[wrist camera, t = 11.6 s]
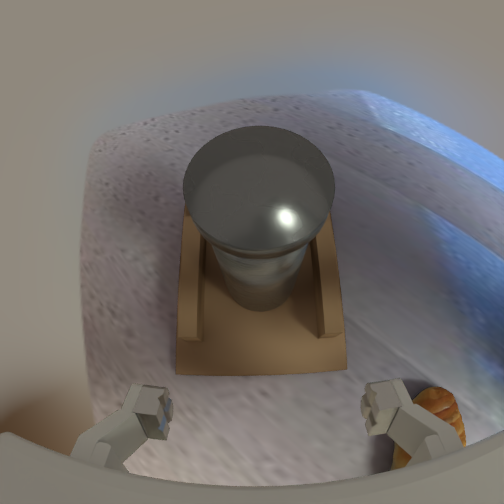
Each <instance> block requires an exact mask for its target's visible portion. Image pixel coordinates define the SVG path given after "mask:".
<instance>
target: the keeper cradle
mask: <svg viewBox="0 0 504 504" xmlns="http://www.w3.org/2000/svg"><path fill="white" fill-rule="evenodd" d="M346 369H347V356H346V342H345V329H344V318H343V307H342V297H341V288H340V279H339V271H338V263H337V255H336V247H335V240H334V233H333V227H332V220H331V214H330V211H329V214H328V217H327V219H326V221H325V223H324V225H323V227H322V228H321V230H320V232H319V233H318V234H317V235H316V236H315V237H314V238H313V239H312V240H311V241H310V242H309V243H308V246H307V249H306V252H305V255H304V258H303V261H302V264H301V267H300V270H299V273H298V276H297V279H296V282H295V285H294V288H293V291H292V293H291V295H290V296H289V298H288V299H287V300H286V301H285V302H284V303H283V304H282V305H281V306H279V307H277V308H275V309H273V310H270V311H265V312H257V311H251V310H248V309H246V308H244V307H242V306H240V305H239V304H238V303H237V302H236V301H235V300H234V299H233V298H232V296H231V295H230V293H229V290H228V288H227V285H226V282H225V280H224V277H223V274H222V272H221V269H220V266H219V264H218V261H217V258H216V255H215V253H214V250H213V247H212V244H211V243H209V242H208V241H207V240H206V239H205V238H204V237H203V236H202V235H201V234H200V232H199V231H198V230H197V228H196V226H195V225H194V223H193V220H192V218H191V216H190V213H189V211H188V208H187V206H186V203H185V210H184V220H183V231H182V243H181V256H180V270H179V286H178V306H177V332H176V374H180V375H208V376H256V375H284V374H301V373H315V372H326V371H337V370H346Z"/></svg>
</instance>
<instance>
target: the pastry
mask: <svg viewBox="0 0 504 504" xmlns="http://www.w3.org/2000/svg"><path fill="white" fill-rule="evenodd" d="M412 402H413V404H418V405H419V406H421V407H422V408H424V409H426V410H427V411H429V412H430V413H432V414H433V415H435V416H437V417H438V418H440V419H441V420H443V421H445V422H446V423H448V424H450V425H451V426H453V427H454V428H455V430H456V432H457V434H458V436H459V438H460V440H461V442H462V444H463V446H464V447H466V435H465V430H464V424H463V422H462V417H461V414H460V412H459V410H458V405H457V403H456V401H455V398H454V396H453V394H452V393H450V392H449V391H447V390H446V389H443V388H441V387H429V388H426V389H425V390H423V391H422V392H421V393H420V394H418V395H417V396H416V397H415V398H414V399H413V400H412ZM394 446H395V448H394V454H393V462H392V466H391V470H395V469H399V468H403V467H405V466H406V465H407V464H408V462H409V461H410V459H411V458H412V457H411V456H410V455H409V454H408V453H407V452H406V451H405V450H404V449H403V448H401V447H400V446H399V445H398V444H397V443H396V442H394Z"/></svg>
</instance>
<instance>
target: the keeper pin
mask: <svg viewBox="0 0 504 504" xmlns="http://www.w3.org/2000/svg"><path fill="white" fill-rule="evenodd" d="M334 193H335V181H334V176H333V172H332V169H331V167H330V164H329V163H328V161H327V159H326V158H325V156H324V155H323V154H322V153H321V151H320V150H319V149H318V148H317V147H316V146H315V145H313V144H312V143H311V142H309V141H308V140H307V139H305V138H303V137H302V136H300V135H298V134H295V133H293V132H291V131H288V130H285V129H281V128H276V127H269V126H250V127H243V128H238V129H234V130H231V131H228V132H225V133H223V134H221V135H219V136H217V137H215V138H214V139H212V140H210V141H209V142H208V143H207V144H205V145H204V146H203V147H202V148H201V149H200V150H199V151H198V152H197V153H196V154H195V156H194V157H193V158H192V160H191V162H190V163H189V165H188V168H187V170H186V173H185V177H184V183H183V194H184V199H185V203H186V206H187V208H188V211H189V213H190V216H191V218H192V220H193V223H194V225H195V226H196V228H197V230H198V231H199V232H200V234H201V235H202V236H203V237H204V238H205V239H206V240H207V241H208V242H209V243H211V244H212V247H213V250H214V253H215V255H216V258H217V261H218V264H219V266H220V269H221V272H222V274H223V277H224V280H225V282H226V285H227V288H228V290H229V293H230V295H231V296H232V298H233V299H234V300H235V301H236V302H237V303H238V304H239V305H240V306H242V307H244V308H246V309H248V310H251V311H257V312H265V311H270V310H273V309H275V308H277V307H279V306H281V305H282V304H283V303H284V302H285V301H286V300H287V299H288V298H289V296H290V295H291V293H292V291H293V288H294V285H295V282H296V279H297V276H298V273H299V270H300V267H301V264H302V261H303V258H304V255H305V252H306V249H307V246H308V243H309V242H310V241H311V240H312V239H313V238H314V237H315V236H316V235H317V234H318V233H319V232H320V230H321V228H322V227H323V225H324V223H325V221H326V219H327V217H328V214H329V211H330V208H331V206H332V203H333V199H334Z"/></svg>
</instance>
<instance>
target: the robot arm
mask: <svg viewBox="0 0 504 504" xmlns="http://www.w3.org/2000/svg"><path fill="white" fill-rule="evenodd" d="M365 392H366V393H365V394H364V395H363V396H362V399H361V413H362V416H363V417H364V418H365V419H367V420H366V423H365V427H366V430H367V433H368V436H372V435H378V434H384V433H387V435H388V436H389V437H390V438H391V439H393V440H394V441H395V442H396V443H397V444H398V445H399V446H400V447H401V448H403V449H404V450H405V451H406V452H407V453H408V454H409V455H410V456H411V457H412V458H411V459H410V461H409V462H408V464H407V465H406V466H405V467H403V468H399V469H395V470H391V471H387V472H382V473H378V474H373V475H368V476H363V477H358V478H352V479H345V480H339V481H331V482H323V483H314V484H303V485H288V486H220V485H206V484H195V483H186V482H178V481H171V480H164V479H158V478H152V477H146V476H141V475H136V474H131V473H129V471H128V470H127V469H126V467H125V466H124V465H123V462H124V461H125V460H126V459H127V458H128V457H130V456H131V455H132V454H133V453H134V452H135V451H136V450H137V449H138V448H139V447H140V446H141V445H142V444H143V443H144V442H145V441H146V440H148V439H147V438H150V439H158V440H167V437H168V433H169V429H170V428H169V425H168V423H169V422H170V421H172V417H173V403H172V400H171V399H170V398H169V390H168V388H166V387H159V386H151V385H142V384H135V383H133V384H132V385H131V387H130V389H129V391H128V394H127V396H126V398H125V401H124V403H123V406H122V408H121V410H117V411H115V412H114V413H112V414H111V415H109V416H108V417H106V418H105V419H103V420H102V421H101V422H99V423H98V424H96V425H94V426H93V427H91V428H90V429H88V430H87V431H85V432H84V433H82V434H81V435H80V436H79V437H78V439H77V442H76V444H75V446H74V448H73V450H72V452H71V455H70V456H67V455H64V454H61V453H58V452H55V451H53V450H50V449H48V448H45V447H42V446H40V445H38V444H35V443H33V442H30V441H28V440H26V439H24V438H22V437H19V436H17V435H15V434H13V433H10V432H4V433H1V434H0V504H504V430H502V431H500V432H498V433H496V434H494V435H492V436H490V437H487V438H485V439H483V440H481V441H478V442H476V443H474V444H471V445H469V446H466V447H464V446H463V444H462V442H461V440H460V438H459V436H458V434H457V432H456V430H455V428H454V427H453V426H451V425H450V424H448V423H446V422H445V421H443V420H441V419H440V418H438V417H437V416H435V415H433V414H432V413H430V412H429V411H427V410H426V409H424V408H422V407H421V406H419V405H418V404H413V402H412V400H411V398H410V396H409V394H408V392H407V389H406V387H405V385H404V383H403V381H402V379H400V378H397V379H391V380H384V381H378V382H371V383H367V384H366V386H365Z"/></svg>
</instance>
